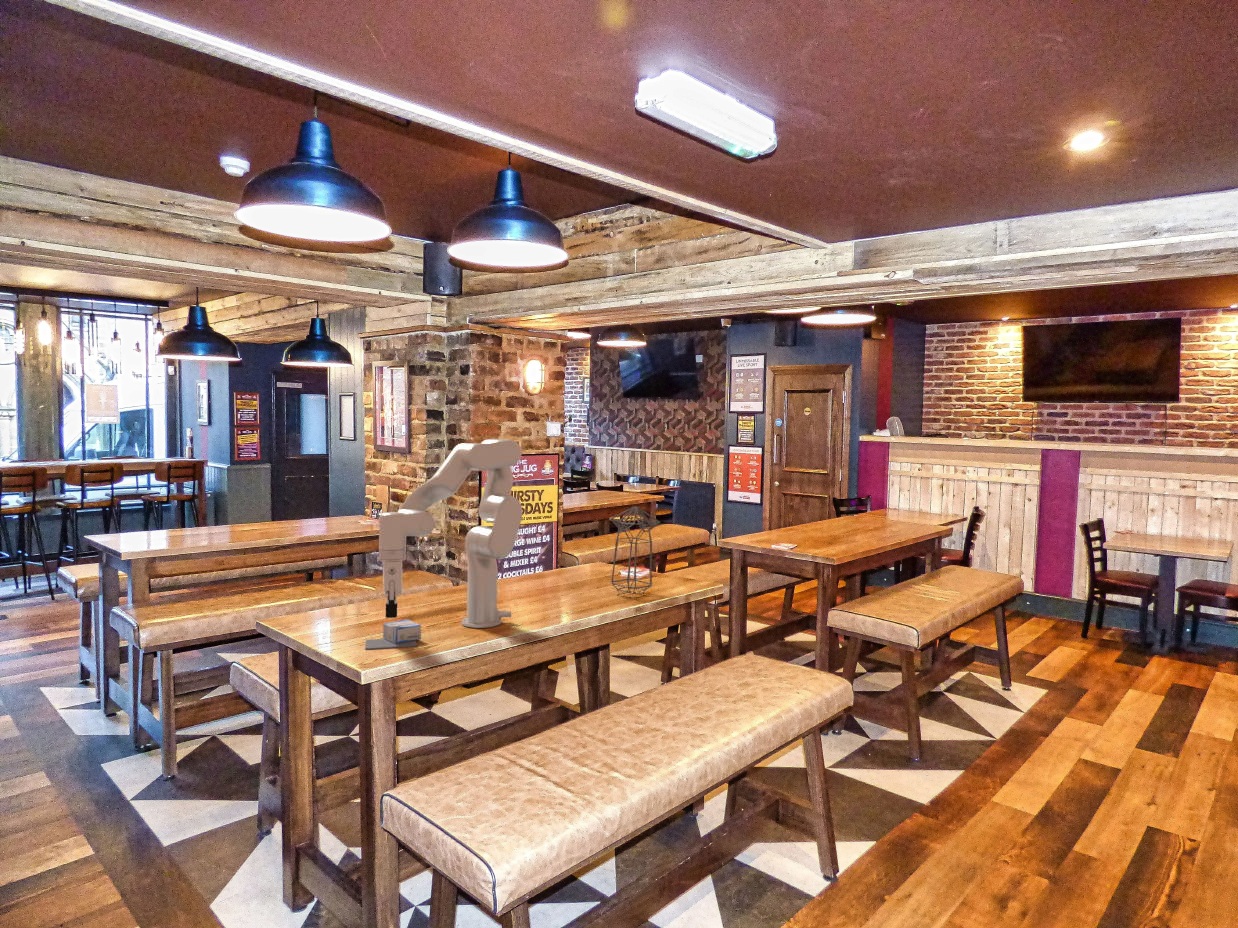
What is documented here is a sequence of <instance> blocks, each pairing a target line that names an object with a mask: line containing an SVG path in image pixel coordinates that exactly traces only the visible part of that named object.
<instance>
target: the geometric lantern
mask: <svg viewBox="0 0 1238 928" xmlns="http://www.w3.org/2000/svg"><path fill="white" fill-rule="evenodd" d="M633 513H634V514H633ZM622 515H624V516H623V517H622V518H620V519H619V518H618V517H619V516H622ZM633 515H634V517H633ZM647 516H648V517H650V518H651V519H653V520H650V519H649V518H648V517H647ZM608 520H609V521H612V523H613V524H614V525H615V527H617V535H616V539H615V547H614V557H613V566H612V573H611V581H610V583H611V584H612V586H613V587H614V588H615V589H616V592H617V591H618V592H622V593H623V592H627V590H623V589H627V588H628V592H627V594H630V593H631V592H633V593H634V594H636V592H638V593H642V592H641V591H644V592H646V590H648V589H649V588H651V587H653V577H652V576H653V575H652V574H653V573H652V571H653V569H652V567H653V566H652V565H653V564H652V563H653V562H652V561H653V560H652V557H653V555H652V554H653V540H652V536H651V530H653V529H654V528H656V527H657V526H658V525H660V523H661V521H660V520H658V519H656V518H655V517H654V516H653V515H651V514H649V513H648V512H647V511H645V510H643V509H642V508H641V507H639V506H632V507H630V508H628V509H626V510H624V511H622V512H620V513H619V514H616V515H615V516H612V517H611V518H609V519H608ZM632 520H633V522H632ZM636 520H637V523H636ZM627 521H628V522H627ZM621 524H622V525H621ZM634 525H635V526H637V525H638V526H639V527H640V531H639V532H638V534H637V535H636V536H635V537H634V536H633V534H632V533H631V531H630V528H631V527H633V526H634ZM645 529H646V530H645ZM626 530H627V531H628V532H629V534H630V536H629V535H628V533H627V531H626ZM621 531H623V532H624V533H625V535H626V537H620V533H621ZM647 532H648V537H649V538H648V539H644V538H641V537H642V535H643V534H644V533H647ZM627 539H628V541H625V540H627ZM634 540H635V542H633V541H634ZM639 540H641V541H643V542H638V541H639ZM619 542H622V543H626V544H627V543H628V544H630V545H629V546H630V548H629V549H630V551H629V559H628V568H627V570H628V571H627V577H626V578H624V579H617V580H614V577H615V566H616V558H617V552H618V544H619ZM639 544H649V561H650V562H649V582H647V581H642V580H639V579H637V548H638V545H639ZM633 545H634V568H633V570H634V571H633V578H630V577H631V566H632V565H631V564H632V563H631V562H632V549H633ZM624 581H626V583H627V586H626V585H623V584H622V585H621V584H619V583H618V582H624ZM630 581H632V582H631V584H630ZM637 582H638V583H643V584H646V585H642V586H637ZM633 584H634V586H633ZM617 586H618V587H620V588H617ZM643 588H644V589H643ZM630 589H631V591H630ZM639 589H641V590H639ZM632 590H633V591H632ZM635 590H638V591H635Z"/></svg>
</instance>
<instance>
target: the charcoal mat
mask: <svg viewBox="0 0 1238 928" xmlns="http://www.w3.org/2000/svg"><path fill="white" fill-rule="evenodd" d="M403 647H404V648H415V647H418V644H417V640H413V641H408V642H403V643H398V644H396V643H393V642H391V641H389V640H387V639H384V638H374V639H373V638H371V639H365V647H364V650H366V651H368V650H370V651H371V650H384V649H398V648H399V649H401V648H403Z"/></svg>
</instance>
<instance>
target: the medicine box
mask: <svg viewBox="0 0 1238 928" xmlns="http://www.w3.org/2000/svg"><path fill="white" fill-rule="evenodd" d="M382 624H383V627H382V629H383V631H382V639H387V640H389V641H391V642H393V643H396V644H398V643H403V642H408V641H413V640H416V641H417V640H418V641H419V640H422V625H421V624H420V623H417V622H414V621H412V620H409V619H401V620H397V621H391V622H385V623H382Z"/></svg>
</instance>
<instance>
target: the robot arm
mask: <svg viewBox="0 0 1238 928" xmlns="http://www.w3.org/2000/svg"><path fill="white" fill-rule="evenodd" d="M522 451H523V450H522V448H521V445H520V444H519V443H518V442H517V441H516V440H513V439H508V438H507V439H502V438H489V439H485V440H483V441H482V442H480V443H476V442H464V443H463V442H462V443H459V444H457V445H456V446H454V448H453V449H452V450H451V452H450V453H448V456H447V457H446V459H445V460H443V462H442V464H441V465H440V466H439V468H438V469H437V470H436V471H435V473H434V474H433V476H432V477H430V479H428V480H426V481H425V482H424V483H422V485H420V486H419V487H418V488H417V489H416V490H414V491H413V492H412V493H411V494H409V495H408V497H406V499H405V500H404V502H403V503H402V505H401V506H400V507H398V508H399V509H398V510H397V511H387V512H382V513H381V514H380V515H379V523H378V525H379V526H378V528H379V529H378V530H379V531H378V561H379V562H382V580H383V581H382V583H383V593H384V594H383V595H384V596H386V603H385V619H395V618H397V617H398V602H397V600H398V599H397V598H398V597H397V596H398V594H399V596H401V595H402V594H403V593H402V592H403V561H406V560H407V551H406V550H407V537H425V536H428V535H430V534H431V533H432V532H433V531H434V529H435V526H436V522H435V518H434V517H433V515H432V514H430V513H428V512H426V511H427V510H428V509H429V508H430V507H432V506H433V505H434V504H436V503H438V502H441V501H443V500H445V499H448V498H450V497H451V496H454V495H455V494H456V493H457V492H458V490H459V488H460V487H461V486H462V484H463V483H464V482H465V480H466V479H467V478H468V476H469V475H470V474H471V472H472V471H477V472H478V471H479V472H482V471H486V480H485V486H484V490H483V492H482V496H481V499H480V503H479V505H478V506H479V507H478V516H479V517H480V519H481V520H482V521H484V522H485V523H490V524H492V526H486V525H477V526H474V527H472V528H471V529H470V530H468V532H467V534H466V535H465V540H464V545H465V552H466V556H467V557H466V559H467V582H466V583H467V586H466V587H467V589H466V590H467V592H466V594H467V595H466V598H467V599H466V617H464V618H462V619H461V625H463V626H464V627H466V628H475V629H485V628H487V629H488V628H494V627H498V626H499V625H501V624H502V618H512V611H511V610H508V611H507V610H500V609H499V608H498V573H499V572H498V571H499V570H498V563H497V560H503V559H505V558H507V557H508V556H509V555H510V554H511V552H512V551H513V549H514V546H515V543H516V540H517V537H518V536H517V535H518V534H519V530H520V526H521V523H522V519H523V506H522V504H521V502H520V500H519V499H518V498H517V497H515V496H513V495H511V493H512V488H513V483H514V474H513V471H512V468H511V467H512V466H515V465H517V464H518V463H519V461H520V460H521V458H522Z"/></svg>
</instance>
